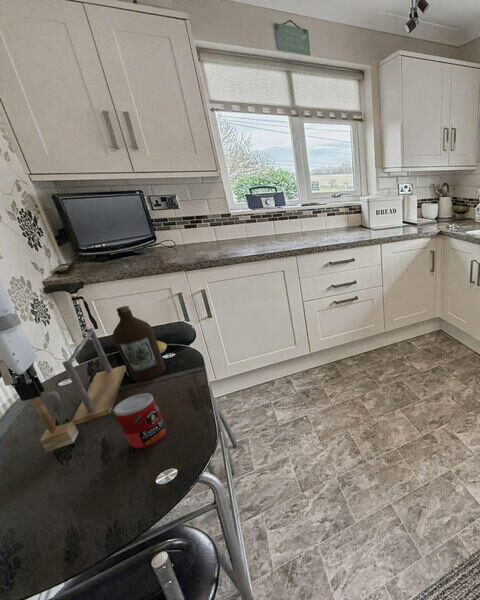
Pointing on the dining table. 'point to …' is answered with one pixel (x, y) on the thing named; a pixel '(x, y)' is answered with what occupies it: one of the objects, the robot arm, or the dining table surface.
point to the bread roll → (161, 346)
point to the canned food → (140, 420)
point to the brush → (54, 426)
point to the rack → (95, 384)
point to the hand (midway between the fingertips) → (33, 395)
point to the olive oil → (138, 346)
